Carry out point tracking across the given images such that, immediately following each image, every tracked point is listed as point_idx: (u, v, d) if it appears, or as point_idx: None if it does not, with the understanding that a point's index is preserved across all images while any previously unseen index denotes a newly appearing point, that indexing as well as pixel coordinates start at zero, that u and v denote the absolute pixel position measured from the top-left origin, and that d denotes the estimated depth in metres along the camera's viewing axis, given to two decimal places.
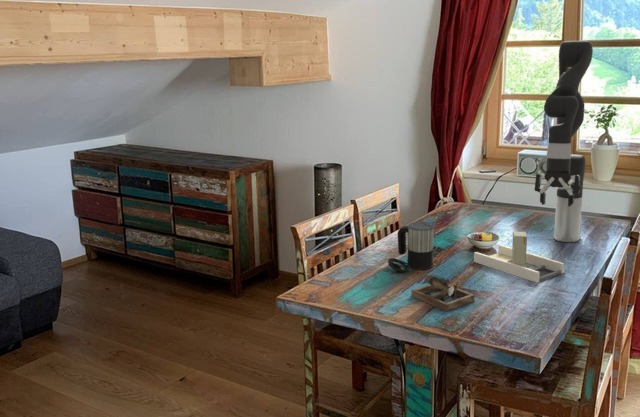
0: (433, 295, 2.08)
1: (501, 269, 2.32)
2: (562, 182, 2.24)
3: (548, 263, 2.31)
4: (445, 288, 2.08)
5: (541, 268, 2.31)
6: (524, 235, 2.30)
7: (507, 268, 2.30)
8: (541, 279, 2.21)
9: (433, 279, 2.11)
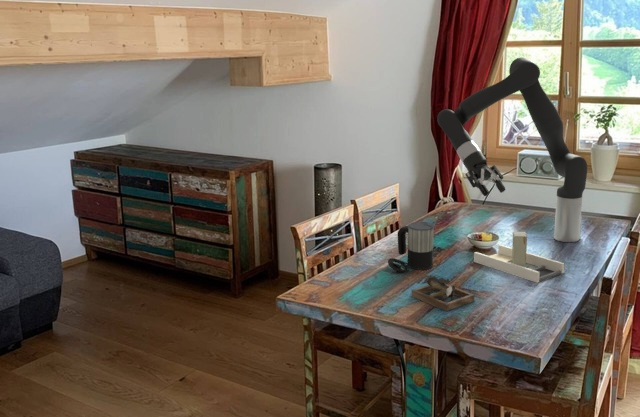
0: (431, 295, 2.08)
1: (501, 269, 2.32)
2: None
3: (548, 263, 2.31)
4: (443, 288, 2.08)
5: (541, 268, 2.31)
6: (524, 235, 2.30)
7: (507, 268, 2.30)
8: (541, 279, 2.21)
9: (431, 279, 2.11)
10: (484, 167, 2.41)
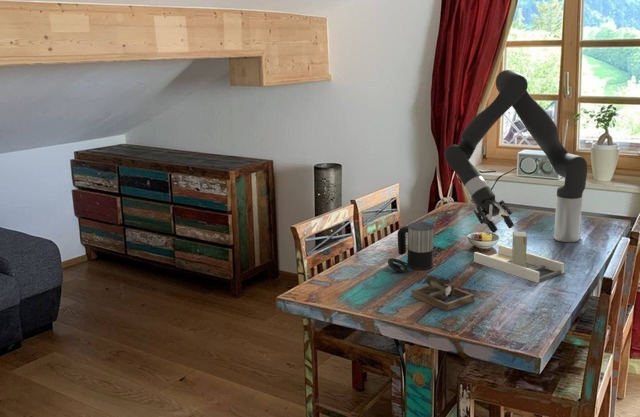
0: (430, 295, 2.09)
1: (501, 269, 2.32)
2: None
3: (548, 263, 2.31)
4: (442, 288, 2.08)
5: (541, 268, 2.31)
6: (524, 235, 2.30)
7: (507, 268, 2.30)
8: (541, 279, 2.21)
9: (431, 279, 2.11)
10: (492, 203, 2.41)
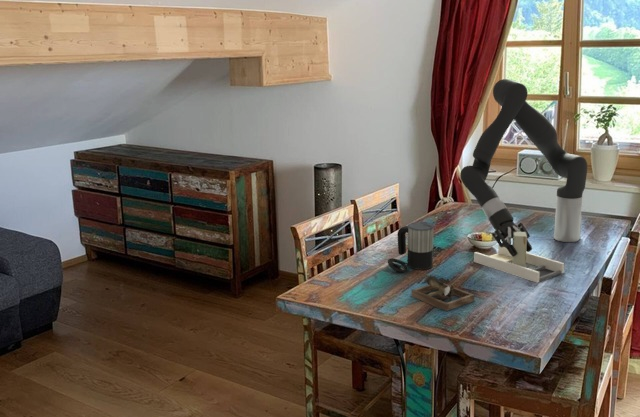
0: (429, 294, 2.09)
1: (501, 269, 2.32)
2: None
3: (548, 263, 2.31)
4: (441, 288, 2.08)
5: (541, 268, 2.31)
6: (524, 235, 2.30)
7: (507, 268, 2.30)
8: (541, 279, 2.21)
9: (430, 278, 2.11)
10: (510, 225, 2.36)
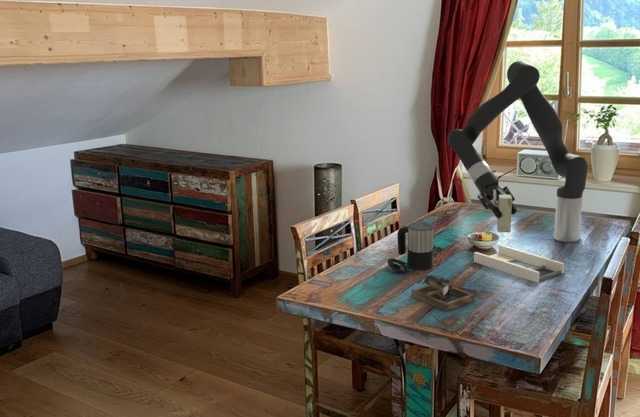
0: (428, 294, 2.09)
1: (501, 269, 2.32)
2: None
3: (548, 263, 2.31)
4: (440, 287, 2.09)
5: (541, 268, 2.31)
6: (509, 197, 2.32)
7: (507, 268, 2.30)
8: (541, 279, 2.21)
9: (429, 278, 2.12)
10: (496, 188, 2.38)
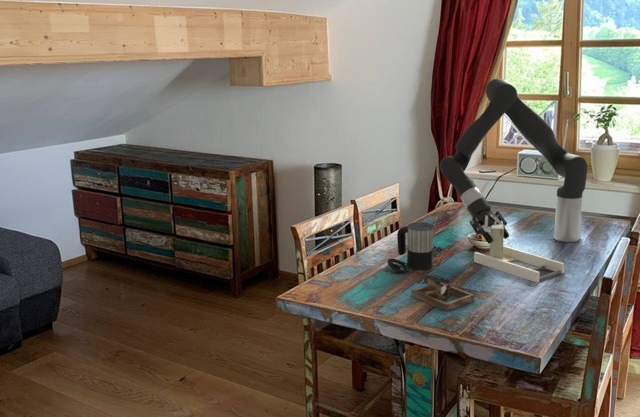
0: (426, 293, 2.10)
1: (501, 269, 2.32)
2: None
3: (548, 263, 2.31)
4: (438, 287, 2.09)
5: (541, 268, 2.31)
6: (501, 227, 2.38)
7: (507, 268, 2.30)
8: (541, 279, 2.21)
9: (427, 277, 2.12)
10: (488, 213, 2.43)
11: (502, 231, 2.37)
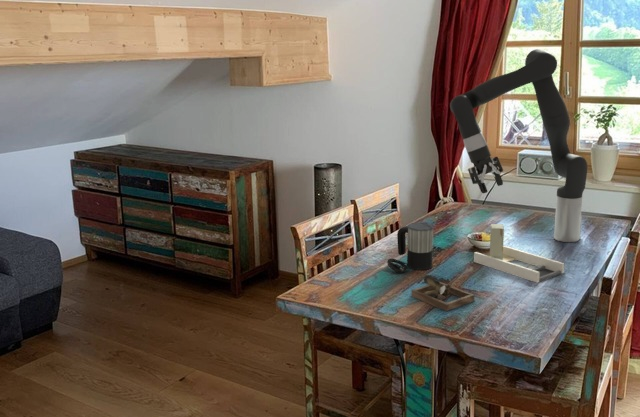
0: (425, 293, 2.10)
1: (501, 269, 2.32)
2: None
3: (548, 263, 2.31)
4: (437, 287, 2.09)
5: (541, 268, 2.31)
6: (501, 227, 2.38)
7: (507, 268, 2.30)
8: (541, 279, 2.21)
9: (427, 277, 2.12)
10: (487, 161, 2.47)
11: (502, 231, 2.37)
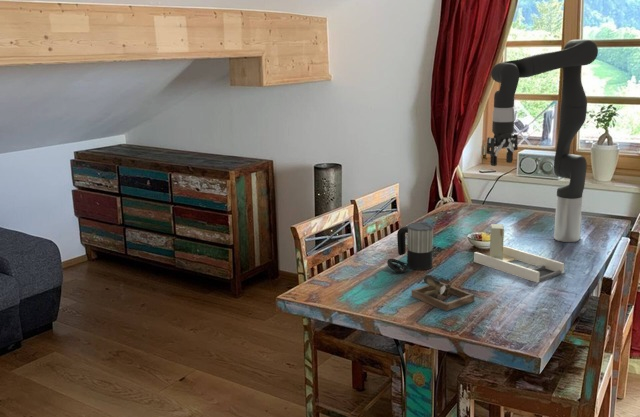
0: (426, 293, 2.10)
1: (501, 269, 2.32)
2: None
3: (548, 263, 2.31)
4: (438, 287, 2.09)
5: (541, 268, 2.31)
6: (501, 227, 2.38)
7: (507, 268, 2.30)
8: (541, 279, 2.21)
9: (427, 277, 2.12)
10: (507, 136, 2.45)
11: (502, 231, 2.37)
